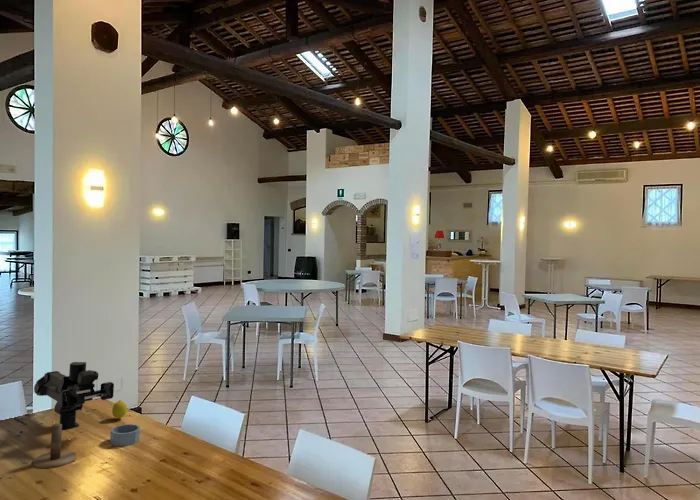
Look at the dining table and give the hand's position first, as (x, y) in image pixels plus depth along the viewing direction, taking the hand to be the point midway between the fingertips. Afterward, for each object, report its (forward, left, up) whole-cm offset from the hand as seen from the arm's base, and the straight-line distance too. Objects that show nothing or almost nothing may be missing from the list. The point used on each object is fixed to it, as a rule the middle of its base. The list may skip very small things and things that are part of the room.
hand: (97, 399), depth 176 cm
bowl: (+5, +9, -16) cm, 19 cm away
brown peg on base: (+5, -15, -17) cm, 23 cm away
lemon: (-19, +18, -17) cm, 31 cm away
